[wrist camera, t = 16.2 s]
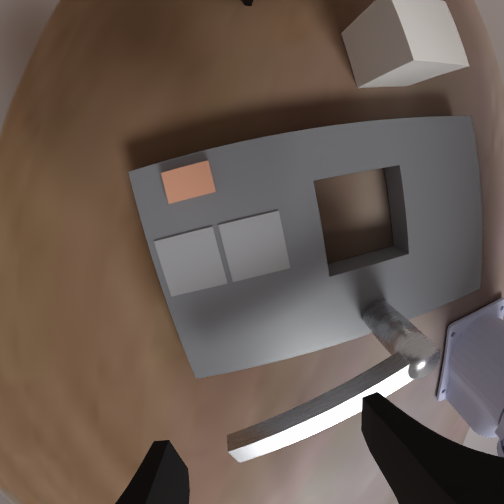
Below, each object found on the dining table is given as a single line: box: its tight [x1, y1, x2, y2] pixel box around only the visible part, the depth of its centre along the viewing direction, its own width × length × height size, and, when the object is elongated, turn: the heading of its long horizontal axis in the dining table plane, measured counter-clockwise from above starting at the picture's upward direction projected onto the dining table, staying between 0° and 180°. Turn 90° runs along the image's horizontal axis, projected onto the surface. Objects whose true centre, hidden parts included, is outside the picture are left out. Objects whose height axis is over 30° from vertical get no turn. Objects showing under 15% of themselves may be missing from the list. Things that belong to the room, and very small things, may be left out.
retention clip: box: [227, 300, 440, 463], centre depth 15 cm, size 12×2×6 cm, turn 117°
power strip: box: [129, 116, 483, 379], centre depth 18 cm, size 13×22×3 cm, turn 102°
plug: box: [341, 0, 469, 88], centre depth 13 cm, size 4×4×6 cm
